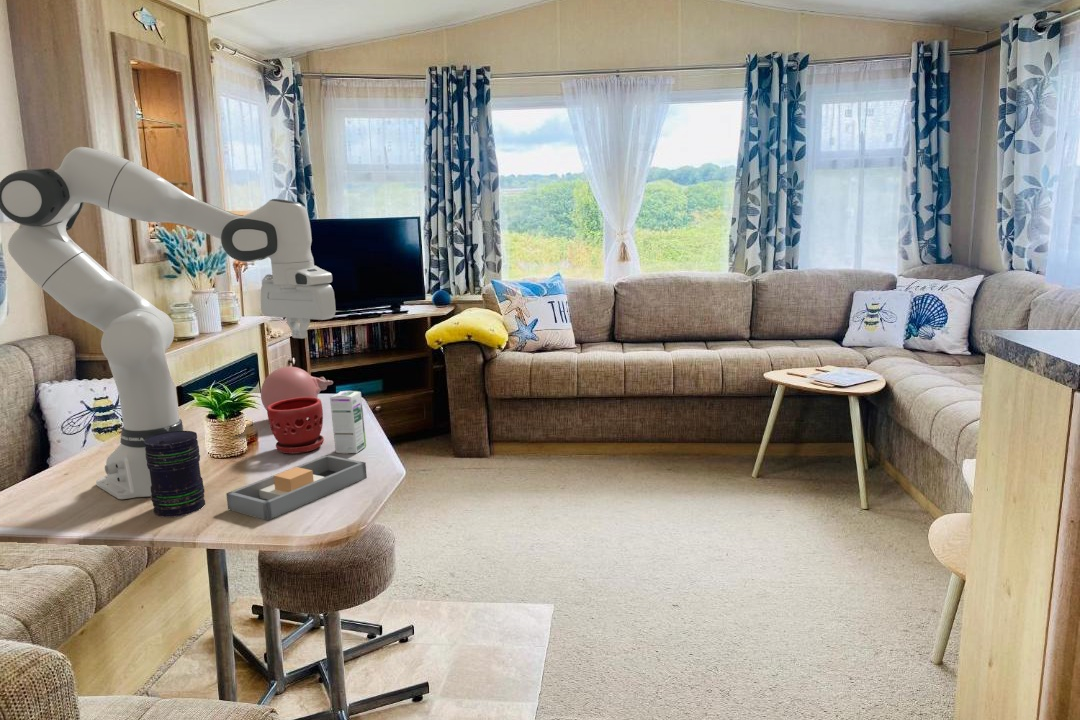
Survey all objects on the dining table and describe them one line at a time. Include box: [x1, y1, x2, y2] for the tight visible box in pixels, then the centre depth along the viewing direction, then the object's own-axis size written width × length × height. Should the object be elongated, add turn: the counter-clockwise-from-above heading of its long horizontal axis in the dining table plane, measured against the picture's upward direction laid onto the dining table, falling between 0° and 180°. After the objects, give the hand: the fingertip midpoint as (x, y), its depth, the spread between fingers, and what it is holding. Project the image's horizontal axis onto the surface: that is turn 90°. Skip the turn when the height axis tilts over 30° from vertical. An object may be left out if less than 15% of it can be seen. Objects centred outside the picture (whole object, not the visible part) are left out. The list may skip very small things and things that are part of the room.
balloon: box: [260, 366, 334, 419], centre depth 224 cm, size 15×20×15 cm
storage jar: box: [144, 430, 206, 518], centre depth 159 cm, size 10×10×15 cm
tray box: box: [225, 454, 368, 521], centre depth 167 cm, size 12×27×4 cm, turn 148°
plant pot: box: [266, 397, 325, 455], centre depth 197 cm, size 13×13×12 cm
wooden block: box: [273, 466, 314, 492], centre depth 165 cm, size 5×6×3 cm
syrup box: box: [329, 390, 367, 454], centre depth 194 cm, size 6×6×14 cm
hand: (299, 337), depth 174 cm, fingers closed
